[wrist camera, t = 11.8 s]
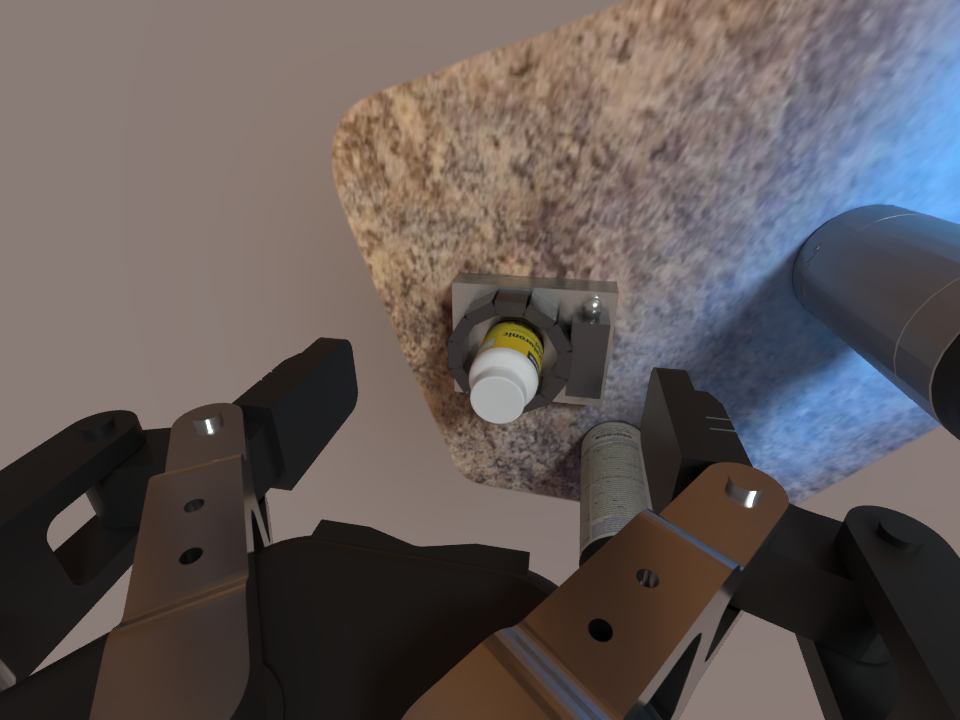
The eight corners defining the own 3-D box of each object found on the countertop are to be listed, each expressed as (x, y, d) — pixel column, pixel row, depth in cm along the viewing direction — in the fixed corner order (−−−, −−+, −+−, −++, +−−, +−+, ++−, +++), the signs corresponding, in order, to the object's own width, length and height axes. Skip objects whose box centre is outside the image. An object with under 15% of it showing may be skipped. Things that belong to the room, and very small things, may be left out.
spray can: (617, 481, 50) (635, 673, 33) (566, 447, 50) (559, 626, 32) (661, 443, 47) (708, 635, 30) (609, 406, 47) (625, 581, 29)
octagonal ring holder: (616, 281, 41) (621, 306, 35) (601, 390, 46) (603, 425, 41) (459, 272, 43) (442, 294, 38) (461, 376, 48) (446, 408, 43)
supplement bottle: (557, 345, 41) (550, 405, 33) (514, 381, 44) (498, 445, 35) (513, 303, 40) (494, 354, 32) (472, 342, 43) (444, 398, 34)
